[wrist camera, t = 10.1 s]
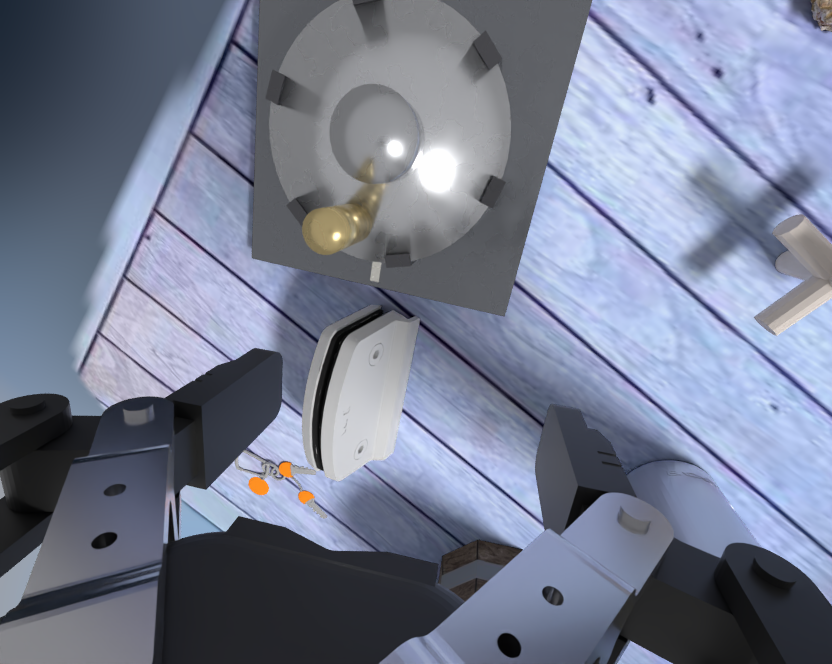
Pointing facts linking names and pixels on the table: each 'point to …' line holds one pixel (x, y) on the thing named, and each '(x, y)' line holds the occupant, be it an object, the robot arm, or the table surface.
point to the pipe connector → (800, 274)
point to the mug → (473, 566)
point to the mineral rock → (822, 13)
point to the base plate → (528, 155)
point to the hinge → (357, 390)
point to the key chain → (287, 471)
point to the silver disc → (389, 128)
